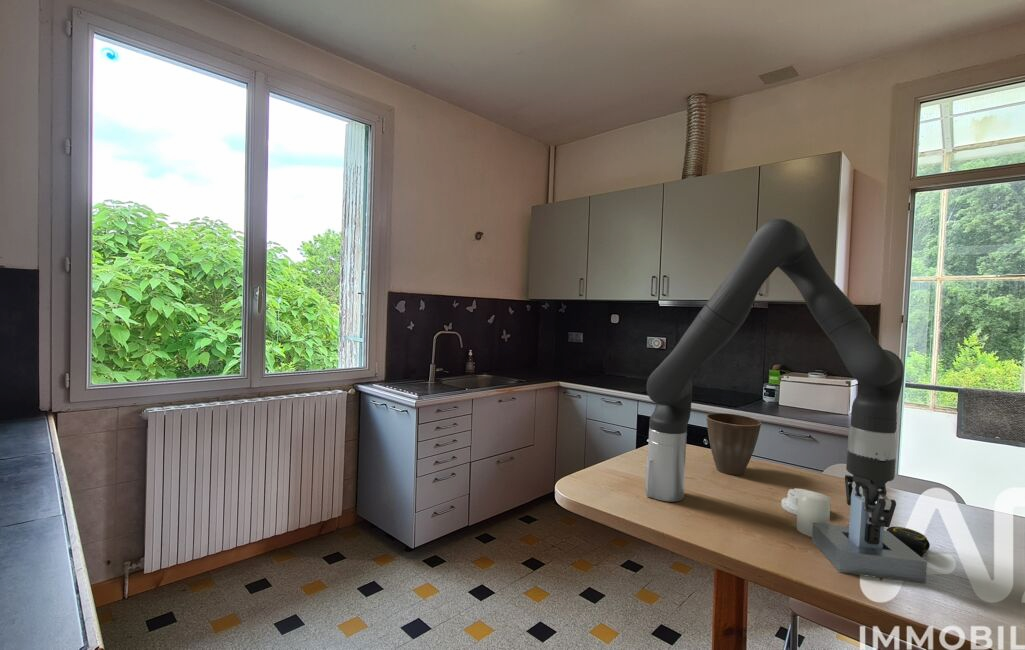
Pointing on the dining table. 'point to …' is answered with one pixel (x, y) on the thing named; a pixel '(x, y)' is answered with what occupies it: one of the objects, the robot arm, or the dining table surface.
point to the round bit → (812, 511)
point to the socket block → (869, 555)
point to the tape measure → (911, 539)
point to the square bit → (860, 524)
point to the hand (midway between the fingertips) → (865, 537)
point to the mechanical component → (791, 500)
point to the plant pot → (732, 441)
